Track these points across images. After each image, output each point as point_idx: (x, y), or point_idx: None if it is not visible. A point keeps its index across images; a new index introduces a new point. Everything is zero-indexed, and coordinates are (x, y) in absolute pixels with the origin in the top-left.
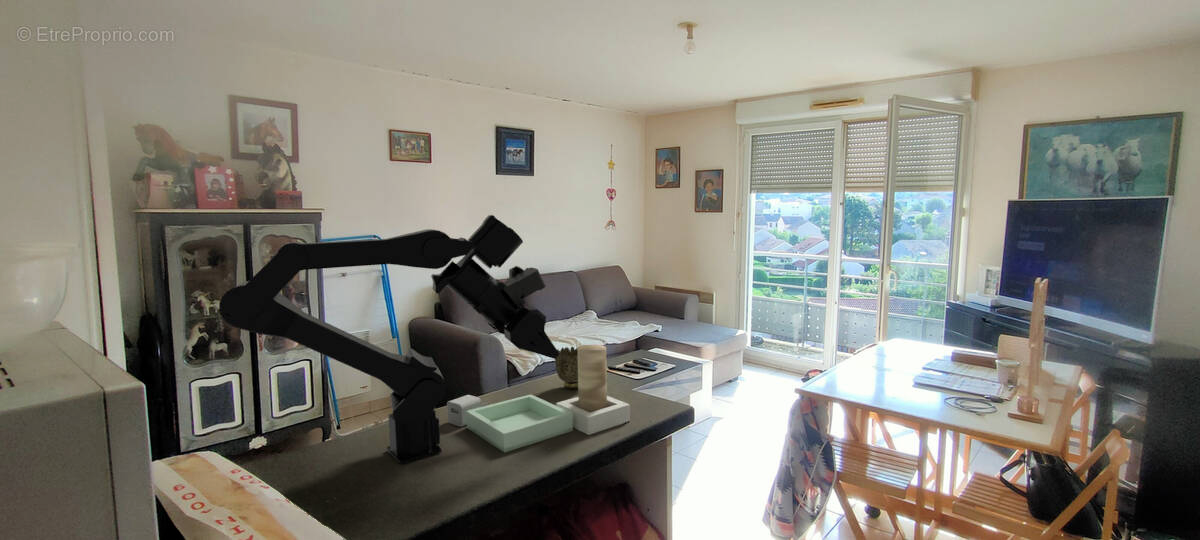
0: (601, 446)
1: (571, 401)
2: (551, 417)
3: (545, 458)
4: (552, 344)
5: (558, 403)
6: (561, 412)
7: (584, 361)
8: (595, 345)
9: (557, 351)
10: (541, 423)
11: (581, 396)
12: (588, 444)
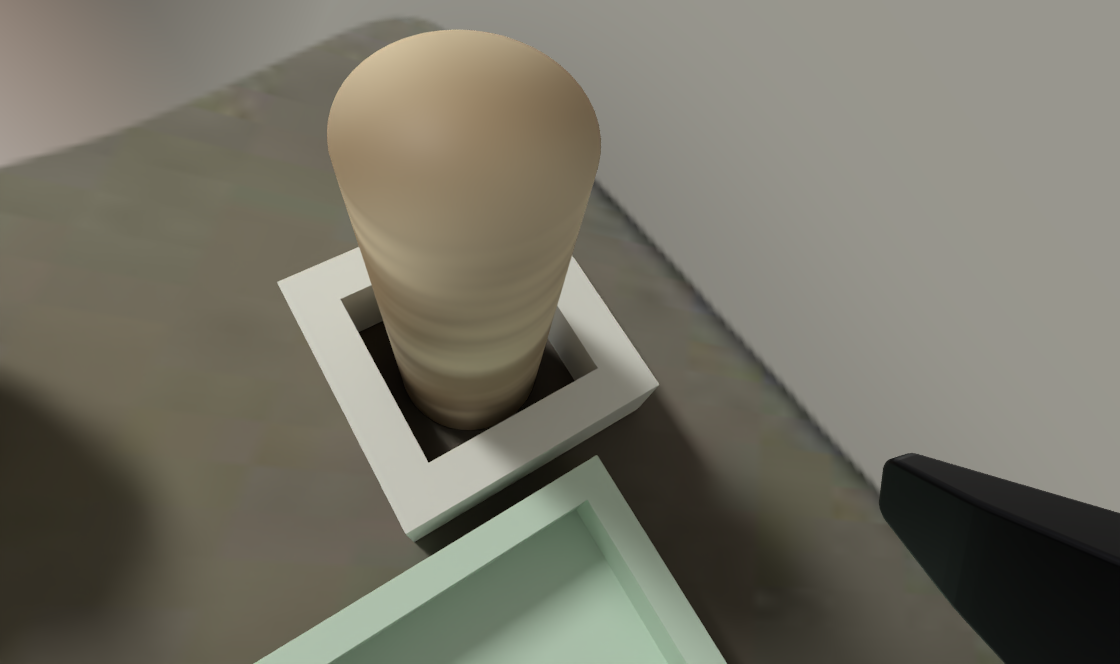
0: (751, 375)
1: (404, 440)
2: (642, 577)
3: (860, 621)
4: (1109, 517)
5: (421, 521)
6: (564, 513)
7: (561, 256)
8: (375, 86)
9: (958, 467)
10: (712, 640)
11: (512, 377)
12: (730, 422)
